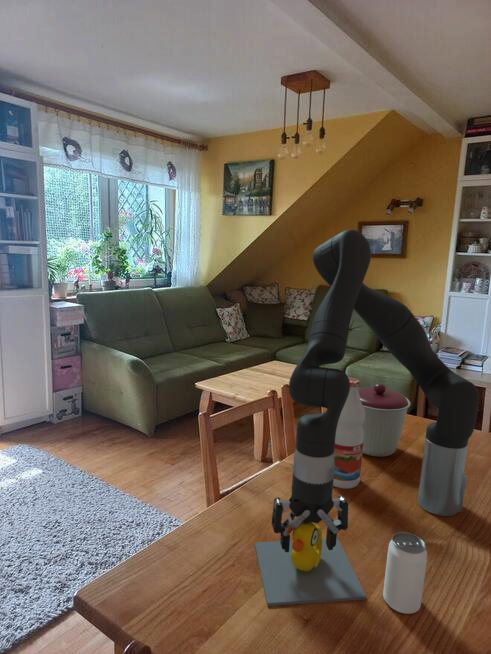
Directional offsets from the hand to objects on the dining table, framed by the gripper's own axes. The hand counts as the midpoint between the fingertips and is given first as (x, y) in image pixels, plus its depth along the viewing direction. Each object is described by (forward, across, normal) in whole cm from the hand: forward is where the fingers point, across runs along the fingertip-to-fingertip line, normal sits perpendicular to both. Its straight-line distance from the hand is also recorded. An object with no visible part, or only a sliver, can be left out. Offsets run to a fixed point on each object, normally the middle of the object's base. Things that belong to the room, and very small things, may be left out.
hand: (307, 548), depth 88 cm
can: (+5, +15, -9) cm, 18 cm away
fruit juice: (+5, +18, +32) cm, 37 cm away
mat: (+5, 0, 0) cm, 5 cm away
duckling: (+4, 0, 0) cm, 4 cm away
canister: (+5, +34, +49) cm, 60 cm away
